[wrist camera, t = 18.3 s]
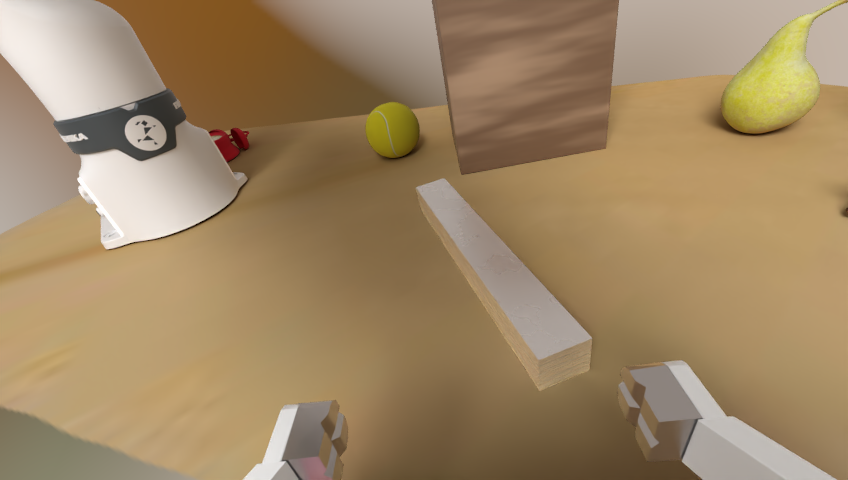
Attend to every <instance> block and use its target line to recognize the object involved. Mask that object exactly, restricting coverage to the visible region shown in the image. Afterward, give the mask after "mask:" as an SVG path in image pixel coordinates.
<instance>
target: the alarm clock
mask: <svg viewBox="0 0 848 480" xmlns="http://www.w3.org/2000/svg"><path fill="white" fill-rule="evenodd" d="M208 133H209V134H210V136H211V138H212V139H213V141H214V143H215V144H216V146H217V147H218V149H219V151H220V152H221V154H222V156H223V157H224V159H225V161H226V162H228V161H230V160H232V159H233V158H235V157H236V156H237V155H238V154H239V153H240V151H239V149H238V148H237V147H236V146H234V145H233V144H232V143H231V142H232V141H235V143H236V144H237V146H238V147H239V148H240V149H241V148H245V150H246V149H248V147H249V143H248V140H247V136H248V134H249V132H248V131H241V130H240V129H238V128H233V129H231V134H230V135H227V134H226V132H224V131H222V130H217V129H216V130H212V131H210V132H208ZM244 133H247V134H244ZM231 135H232V137H233V138H231V139H230V138H229V136H231Z"/></svg>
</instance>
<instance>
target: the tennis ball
mask: <svg viewBox="0 0 848 480" xmlns="http://www.w3.org/2000/svg"><path fill="white" fill-rule="evenodd" d="M365 129H366V136H367V139H368V142H369V144H370V145H371V147H372V148H373V149H374V150H375V151H376V152H377V153H378V154H380V155H382V156H385V157H389V158H397V157H402V156H404V155H406V154H408V153H409V152H410V151H411V150H412V149H413V148H414V147H415V146H416V144H417V142H418V139H419V132H420V129H419V123H418V120H417V118H416V116H415V114H414V113H413V112H412V111H411V109H410V108H408V107H407V106H405V105H403V104H400V103H397V102H390V103H385V104H382V105H380V106H379V107H377V108H375V109H374V110H373V111H372V112H371V113H370V115H369V117H368V119H367V121H366V128H365Z"/></svg>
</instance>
